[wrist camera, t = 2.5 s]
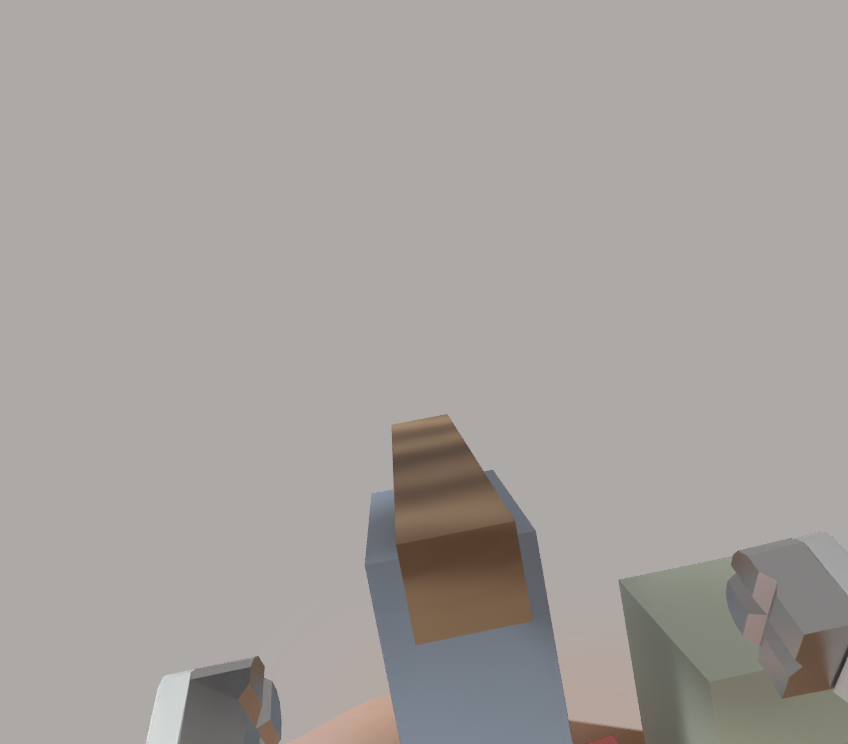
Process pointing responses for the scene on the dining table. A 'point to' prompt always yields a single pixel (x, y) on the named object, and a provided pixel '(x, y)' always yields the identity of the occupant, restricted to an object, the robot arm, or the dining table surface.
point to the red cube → (605, 740)
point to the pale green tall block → (711, 668)
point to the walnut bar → (453, 536)
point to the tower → (467, 655)
